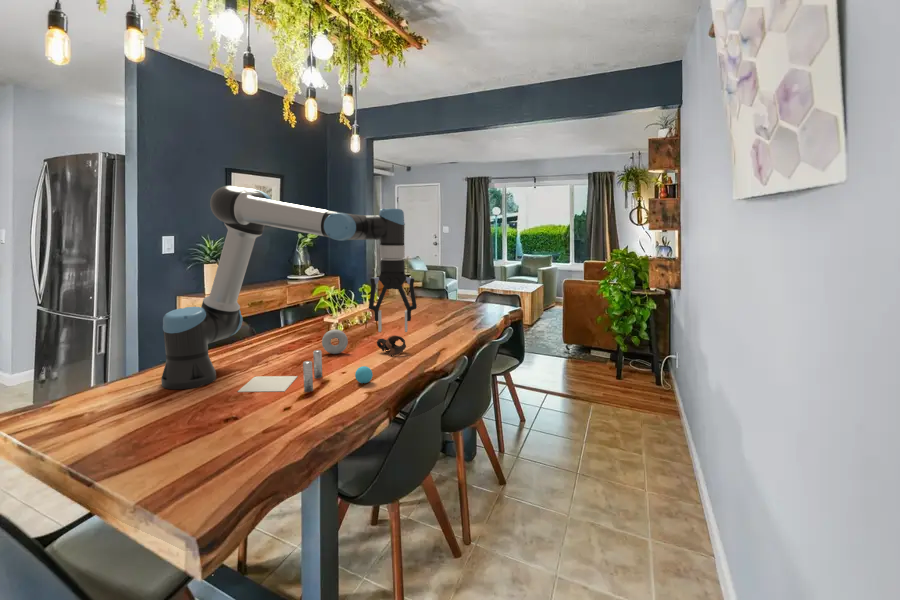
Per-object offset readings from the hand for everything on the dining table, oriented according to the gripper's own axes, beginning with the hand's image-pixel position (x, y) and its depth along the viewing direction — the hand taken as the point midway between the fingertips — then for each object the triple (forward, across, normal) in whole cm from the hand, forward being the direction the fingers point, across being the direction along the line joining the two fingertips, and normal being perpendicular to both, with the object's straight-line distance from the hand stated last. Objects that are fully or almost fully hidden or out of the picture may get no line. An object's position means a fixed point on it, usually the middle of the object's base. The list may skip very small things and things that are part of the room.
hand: (393, 331), depth 140 cm
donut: (+17, +26, -35) cm, 47 cm away
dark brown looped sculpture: (+18, +3, -36) cm, 40 cm away
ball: (+14, +10, 0) cm, 17 cm away
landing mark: (+17, +40, 0) cm, 43 cm away
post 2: (+17, +26, -6) cm, 31 cm away
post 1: (+17, +26, +6) cm, 31 cm away
